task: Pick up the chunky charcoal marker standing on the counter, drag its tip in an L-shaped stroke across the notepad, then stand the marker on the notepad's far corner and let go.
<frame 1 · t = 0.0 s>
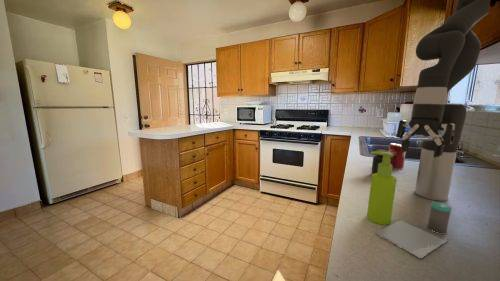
hand: (419, 154, 67), 17 cm above the table, tool pointing down, fingers open, 8 cm apart
notepad: (410, 237, 53), on the table
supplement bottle: (379, 176, 97), on the table
soap dispenser: (376, 219, 62), on the table
marker: (436, 229, 56), on the table
soda can: (394, 167, 110), on the table
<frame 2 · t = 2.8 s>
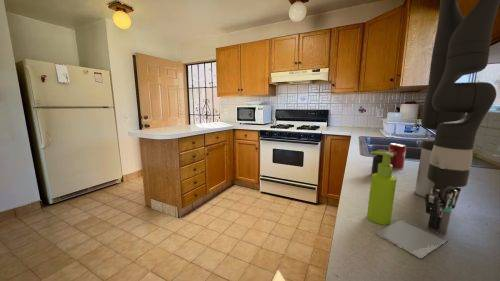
hand: (437, 225, 56), 1 cm above the table, tool pointing down, fingers closed on marker, 3 cm apart
marker: (436, 229, 56), on the table, touching gripper
everything else where it was.
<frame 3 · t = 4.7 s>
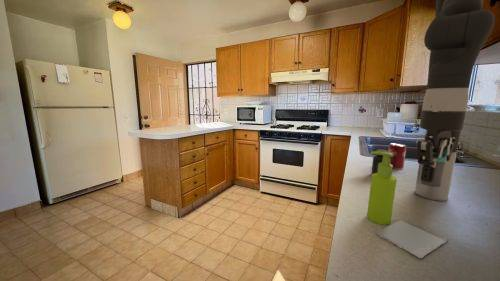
hand: (430, 179, 51), 15 cm above the table, tool pointing down, fingers closed on marker, 3 cm apart
marker: (430, 184, 52), point 14 cm above the table, touching gripper
everything else where it was.
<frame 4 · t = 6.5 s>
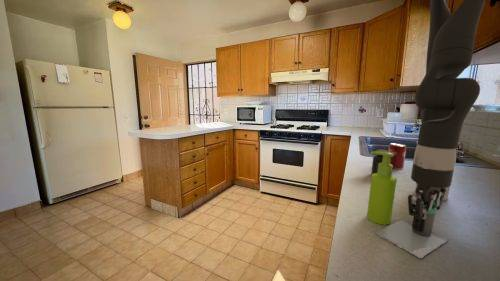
hand: (421, 227, 54), 2 cm above the table, tool pointing down, fingers closed on marker, 3 cm apart
marker: (421, 232, 54), point 1 cm above the table, touching gripper, notepad
everything else where it was.
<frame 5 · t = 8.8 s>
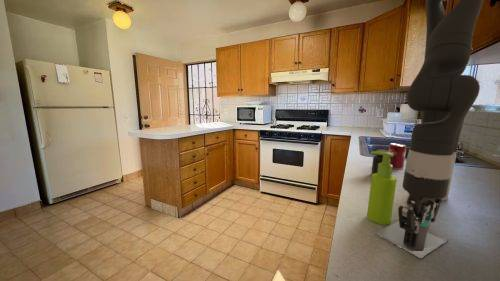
hand: (414, 241, 49), 2 cm above the table, tool pointing down, fingers closed on marker, 3 cm apart
marker: (413, 245, 49), point 1 cm above the table, touching gripper
everything else where it was.
when the fingers open (2 cm above the table, at t = 10.0 s): marker stays where it is, resting on notepad.
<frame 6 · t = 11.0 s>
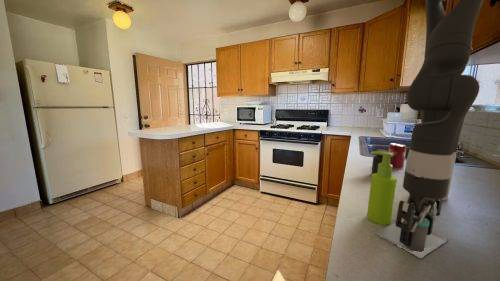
hand: (415, 238, 48), 3 cm above the table, tool pointing down, fingers open, 8 cm apart
marker: (413, 246, 49), point 1 cm above the table, touching notepad
everything else where it was.
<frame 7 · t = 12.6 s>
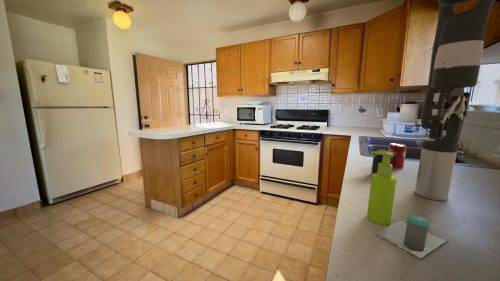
hand: (443, 136, 50), 25 cm above the table, tool pointing down, fingers open, 8 cm apart
nothing on the table moved.
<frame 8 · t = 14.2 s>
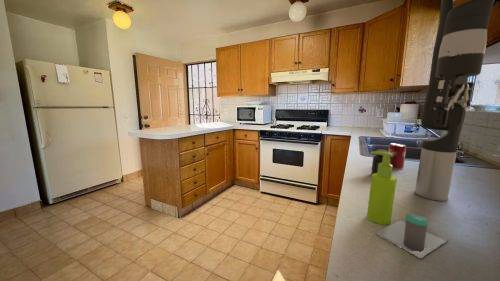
hand: (447, 125, 51), 28 cm above the table, tool pointing down, fingers open, 8 cm apart
nothing on the table moved.
at the end: marker inside the target area (0.1 cm from its centre), point 0.7 cm above the table; marker tilted 2°; the gripper is holding nothing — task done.
